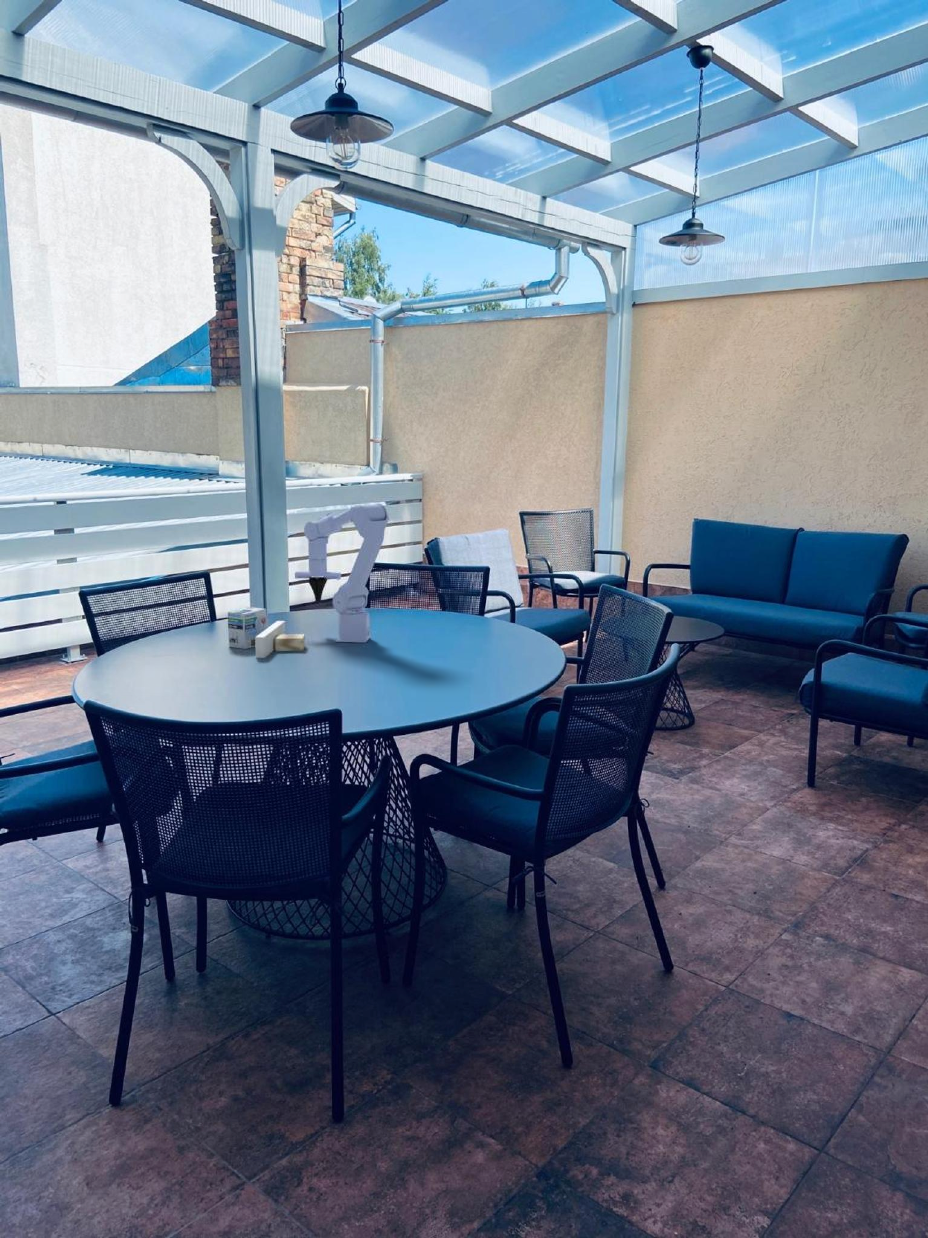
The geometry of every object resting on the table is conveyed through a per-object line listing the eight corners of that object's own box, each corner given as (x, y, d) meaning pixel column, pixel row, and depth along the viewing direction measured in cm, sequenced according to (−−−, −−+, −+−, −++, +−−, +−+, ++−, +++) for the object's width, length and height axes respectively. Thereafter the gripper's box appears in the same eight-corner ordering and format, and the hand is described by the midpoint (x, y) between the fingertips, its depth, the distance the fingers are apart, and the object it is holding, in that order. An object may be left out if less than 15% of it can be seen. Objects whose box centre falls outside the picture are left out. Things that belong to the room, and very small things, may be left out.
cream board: (285, 639, 279) (285, 621, 278) (264, 658, 255) (263, 637, 254) (277, 639, 279) (277, 620, 278) (255, 657, 255) (255, 637, 254)
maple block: (305, 647, 271) (304, 634, 270) (303, 651, 265) (302, 638, 264) (278, 647, 270) (277, 634, 269) (275, 651, 264) (275, 638, 263)
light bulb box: (245, 649, 266) (244, 614, 263) (227, 647, 268) (226, 611, 266) (268, 642, 275) (267, 608, 273) (250, 640, 278) (249, 606, 276)
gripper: (342, 557, 288) (342, 599, 291) (298, 556, 289) (298, 598, 292) (338, 560, 282) (338, 603, 284) (292, 559, 282) (293, 602, 285)
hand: (318, 601), depth 288 cm, fingers closed
